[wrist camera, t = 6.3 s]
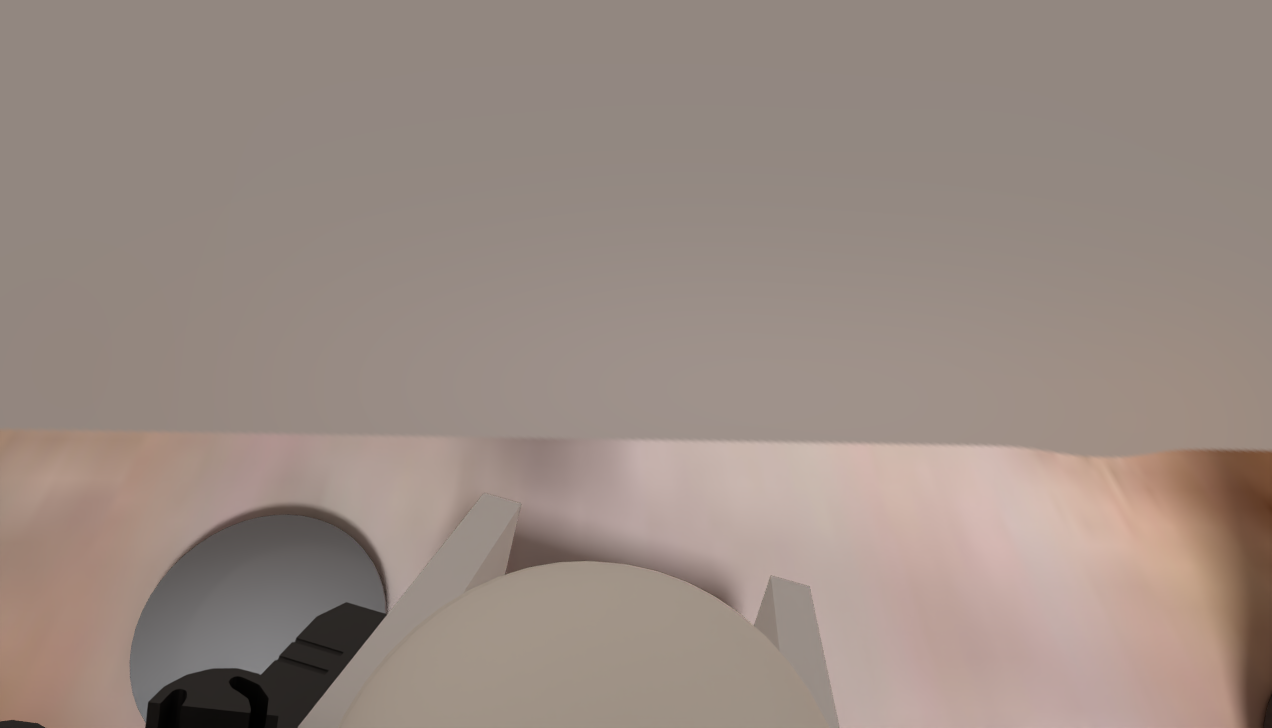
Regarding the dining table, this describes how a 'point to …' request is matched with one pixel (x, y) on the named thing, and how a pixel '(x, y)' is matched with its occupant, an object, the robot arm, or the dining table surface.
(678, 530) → the dining table surface
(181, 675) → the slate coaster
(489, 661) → the pepper mill
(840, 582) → the dining table surface
